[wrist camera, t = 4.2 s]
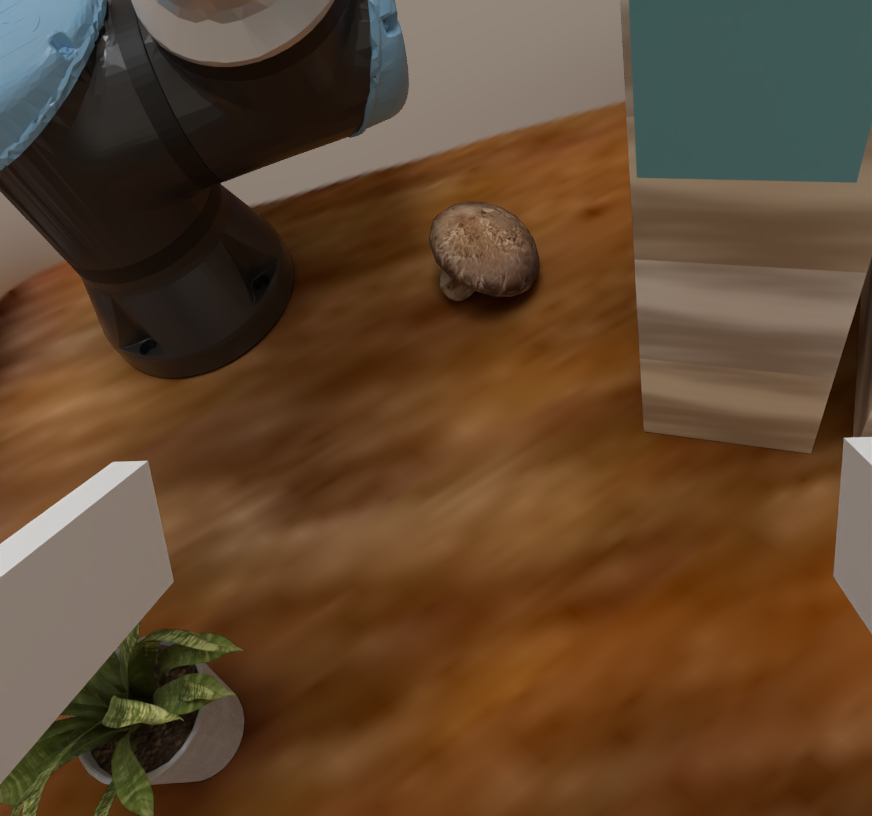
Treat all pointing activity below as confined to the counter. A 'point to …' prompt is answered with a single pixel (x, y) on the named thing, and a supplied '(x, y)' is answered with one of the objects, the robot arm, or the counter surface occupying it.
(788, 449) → the block stand
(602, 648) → the counter surface
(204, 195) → the robot arm
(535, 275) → the mushroom
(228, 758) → the house plant
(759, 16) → the beam
